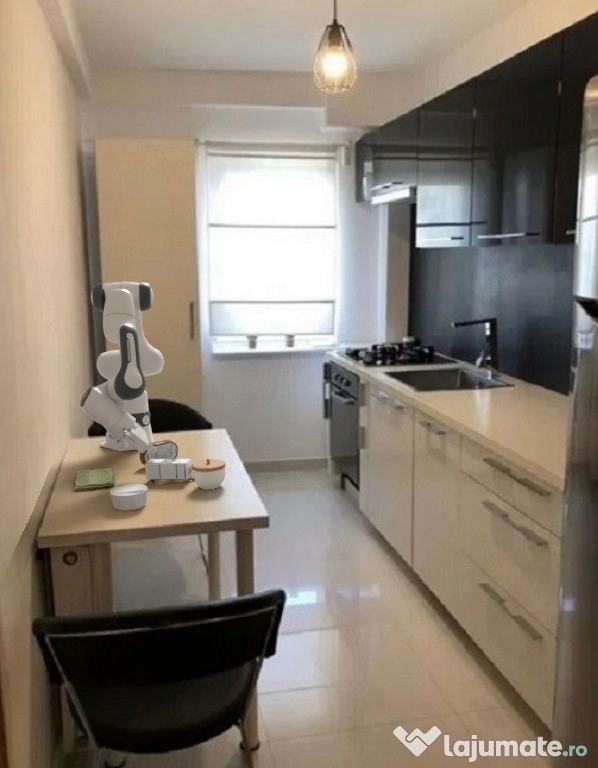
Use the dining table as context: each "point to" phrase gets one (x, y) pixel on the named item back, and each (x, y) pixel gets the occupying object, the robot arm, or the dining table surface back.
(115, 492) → the ramekin
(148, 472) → the syrup box
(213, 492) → the dining table surface
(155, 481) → the cork pad
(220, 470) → the lidded jar
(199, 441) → the dining table surface
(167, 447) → the tin
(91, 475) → the washcloth
